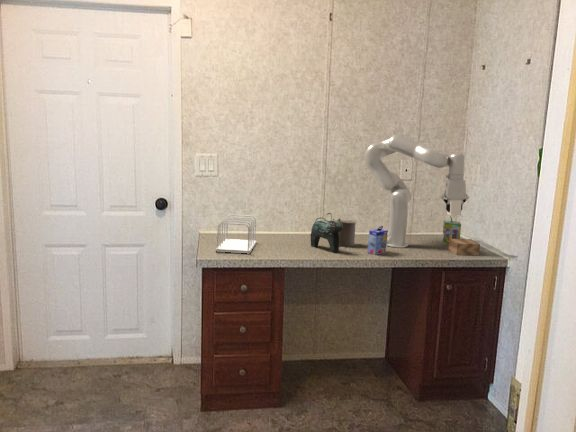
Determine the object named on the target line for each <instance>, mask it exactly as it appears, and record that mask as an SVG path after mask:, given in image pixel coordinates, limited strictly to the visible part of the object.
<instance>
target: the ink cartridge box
mask: <svg viewBox="0 0 576 432" xmlns="http://www.w3.org/2000/svg"><path fill="white" fill-rule="evenodd" d="M383 227H384V225H381V226H378V228H375V229H371V230H369V232H368V235H369V236H368V244H367V253H368V254H369V255H373V254H374V256H376V255H381V254H385V253H386V252H387V251H386V250H387V245H386V243H387V236H388V234H389V229H385V228H383Z"/></svg>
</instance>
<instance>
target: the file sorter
mask: <svg viewBox="0 0 576 432" xmlns="http://www.w3.org/2000/svg"><path fill="white" fill-rule="evenodd" d="M245 223H246V224H245ZM256 223H257V218H256V217H255V216H253V215H247V214H246V215H245V214H229V215H227V217H225V218H224V219H223V220H222V221H221V222H219V224H218V225H217V247H216V248H215V252H216V251H218V252H217V253H225V252H231V253H230V254H241V253H247V254H246V255H250V254H251V252H252V251H253V250H252V249H254V248H255V247H256V245H257V244H258V243H257V240H256V229H257V228H256V226H257V224H256ZM228 225H234V226H246V227H247V230H248V231H247V239H237V238H236V239H235V238H228Z"/></svg>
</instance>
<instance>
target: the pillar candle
mask: <svg viewBox="0 0 576 432" xmlns="http://www.w3.org/2000/svg"><path fill="white" fill-rule="evenodd" d="M340 221H341V222H342V224H343V228H342V231H340V232H338V234H339V247H341V248H353V247H354V246H355V237H356V236H355V235H356V220H352V219H340Z"/></svg>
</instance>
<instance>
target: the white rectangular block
mask: <svg viewBox="0 0 576 432" xmlns="http://www.w3.org/2000/svg"><path fill="white" fill-rule="evenodd" d="M461 201H462V199H450V212H447V211H446V214H447V215H448V216H461V214H462V210H461Z"/></svg>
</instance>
